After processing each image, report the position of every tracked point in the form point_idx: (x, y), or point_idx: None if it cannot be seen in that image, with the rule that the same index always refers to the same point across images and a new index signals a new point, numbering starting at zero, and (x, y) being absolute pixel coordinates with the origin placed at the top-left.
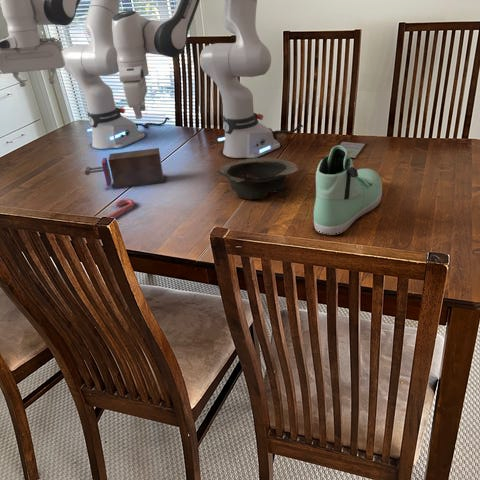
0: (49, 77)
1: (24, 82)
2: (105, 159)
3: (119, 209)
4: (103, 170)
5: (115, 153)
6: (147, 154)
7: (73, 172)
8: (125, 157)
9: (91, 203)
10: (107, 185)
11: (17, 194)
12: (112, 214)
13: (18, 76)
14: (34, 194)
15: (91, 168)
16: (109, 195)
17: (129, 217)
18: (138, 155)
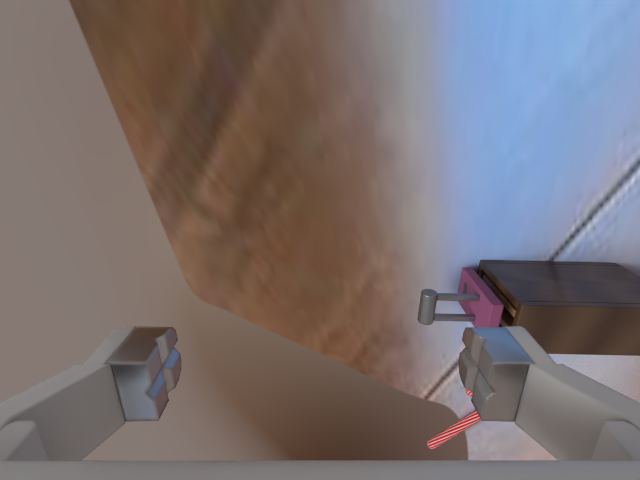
0: (494, 371)
1: (160, 366)
2: (498, 320)
3: (472, 422)
4: (473, 320)
5: (542, 309)
6: (636, 350)
7: (352, 139)
8: (564, 351)
9: (410, 356)
10: (458, 301)
11: (208, 253)
12: (456, 434)
13: (43, 411)
14: (258, 267)
15: (439, 299)
16: (454, 330)
17: (483, 428)
18: (607, 349)
